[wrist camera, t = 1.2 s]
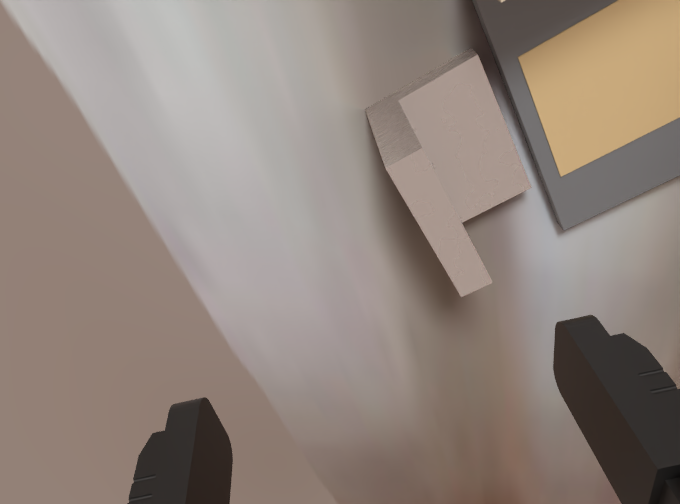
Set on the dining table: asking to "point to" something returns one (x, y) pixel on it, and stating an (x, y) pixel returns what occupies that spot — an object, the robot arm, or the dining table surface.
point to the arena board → (592, 94)
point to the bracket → (449, 158)
